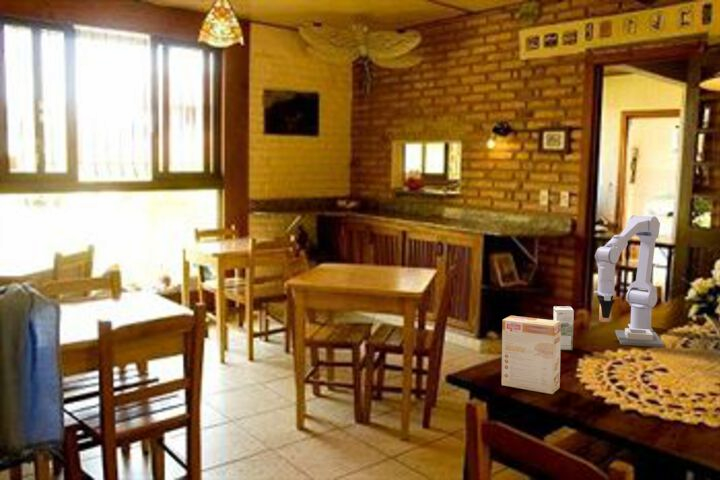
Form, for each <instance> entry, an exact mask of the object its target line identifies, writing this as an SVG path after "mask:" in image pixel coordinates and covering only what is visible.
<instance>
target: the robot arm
mask: <svg viewBox="0 0 720 480" xmlns="http://www.w3.org/2000/svg"><path fill="white" fill-rule="evenodd" d="M660 226H661V222H660V221H659V218H658V217H657V216H646V215H645V216H644V215H631V216H629V218H628V219H627V224H626V227H625V228H624V229H623V230H622V231H621V232H620V234H614V235H613V236H612V238H611V239H610V240H608V242H607V243H606V244H605V245H604V246H600V247H598V248H597V249H596V251H595V254H594V259H595V261H596V266H597V290H594V291H593V294H597V295H596V297H597V298H596V299H597V300H598V303H599V306H600V305H601V311H602V317H603V318H609V316H610V312H611V313H612V307H613V305H614V304H615V302H616V300H615V299H614V295H615V294H616V291H615V282H616V280H615V279H616V277H615V276H616V263H617V262H618V261H619V259H620V256H621V253H622V252H623V251H624V250H625V249H626V248H627V246H628V243H629V242H628V241H630V240H631V239H632V238H633V237H634V236H635V237H637V238H639V240H640V245H639V253H638V261H637V269H636V277H635V280H634V281H633V282H631V283H630V284H629V286H628V290H627V293H626V297H625V298H626V301H627V303H628V304H629V306H630V307H631V308H630V323H628V324H627V326H628V328H633V329H649V330H650V331H651V332H654V329H653V327H652V310H653V309H652V308H654V307H655V306H656V305H657V302H658V293H657V292H658V291H657V290H658V288H657V287H656V286H655V285H654V284H653V283H652V282H651V278H652V271H653V263H654V255H655V250H656V249H655V246H656V239H659V234H660V228H661V227H660Z"/></svg>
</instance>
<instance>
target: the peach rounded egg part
mask: <svg viewBox="0 0 720 480" xmlns="http://www.w3.org/2000/svg"><path fill="white" fill-rule="evenodd" d="M598 313H599V314H598V321H599V322H602V323H610V322H612V311H611V312H610V316H609V318H603V317H602V311H601V305H600V304H599V311H598Z"/></svg>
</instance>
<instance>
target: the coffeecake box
mask: <svg viewBox="0 0 720 480" xmlns="http://www.w3.org/2000/svg"><path fill="white" fill-rule="evenodd" d="M501 329H502V332H501V333H502V335H501V343H502V344H501V345H502V346H501V386H505V387H511V388H515V389H522V390H527V391H532V392H537V393H543V394H547V395H549V394H550V395H553V394H555V392H557V391H558V390H559V389H560V383H561V379H560V378H561V377H560V376H561V350H560V346H561V321H555V320H553V319H546V318H545V319H544V318H538V317H537V318H536V317H535V318H534V317H527V316H517V315H509V316H507V317H505V318H503V319H502V328H501Z"/></svg>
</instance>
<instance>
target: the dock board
mask: <svg viewBox="0 0 720 480" xmlns="http://www.w3.org/2000/svg"><path fill="white" fill-rule="evenodd" d="M614 333H615V335H616V337H617V340H618V341H619V344H620V345H622V346H625V345H626V346H638V347H641V346H642V347H653V348H654V347H656V348H665V344H664V342H663V341H662V339H661V338H660V337H659V335H658V334H657V333H656V331H650V330H649V329H633V328H629V327H626V328H625V327H624V330H623V329H615V330H614Z"/></svg>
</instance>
